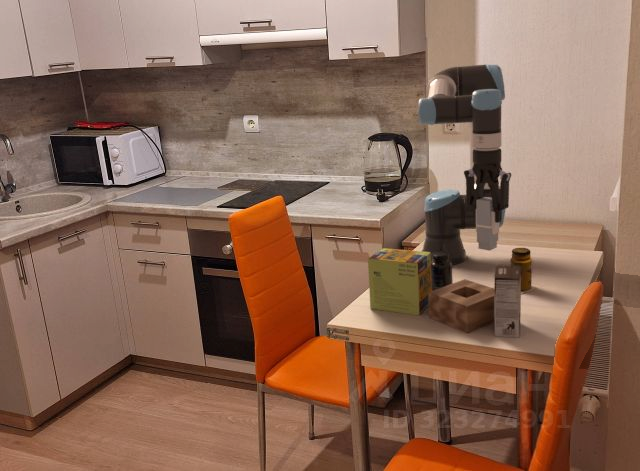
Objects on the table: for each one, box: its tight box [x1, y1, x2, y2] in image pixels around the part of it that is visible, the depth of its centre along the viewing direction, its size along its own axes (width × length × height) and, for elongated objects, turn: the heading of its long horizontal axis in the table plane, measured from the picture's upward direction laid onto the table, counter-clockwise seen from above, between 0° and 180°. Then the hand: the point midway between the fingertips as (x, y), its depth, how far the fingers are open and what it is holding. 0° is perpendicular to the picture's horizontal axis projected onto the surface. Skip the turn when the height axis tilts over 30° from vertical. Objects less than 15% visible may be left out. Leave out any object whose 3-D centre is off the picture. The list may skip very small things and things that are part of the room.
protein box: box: [367, 247, 432, 316], centre depth 191 cm, size 10×15×16 cm
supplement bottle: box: [431, 251, 454, 291], centre depth 200 cm, size 7×7×12 cm
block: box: [428, 278, 495, 334], centre depth 181 cm, size 14×14×8 cm
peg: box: [476, 197, 499, 252], centre depth 185 cm, size 4×4×14 cm
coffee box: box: [493, 264, 522, 338], centre depth 171 cm, size 9×6×16 cm
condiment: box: [509, 247, 539, 295], centre depth 198 cm, size 7×8×12 cm
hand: (487, 231), depth 186 cm, fingers closed on peg, 4 cm apart
